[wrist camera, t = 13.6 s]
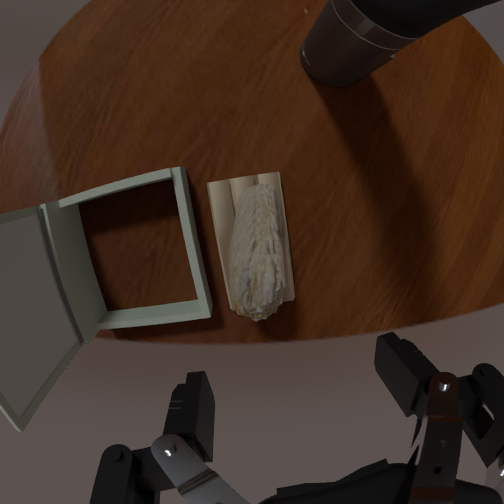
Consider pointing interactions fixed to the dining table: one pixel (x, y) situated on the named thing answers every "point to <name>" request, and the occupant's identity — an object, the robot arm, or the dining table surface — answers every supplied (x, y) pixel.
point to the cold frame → (69, 292)
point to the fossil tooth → (257, 254)
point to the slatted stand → (223, 215)
